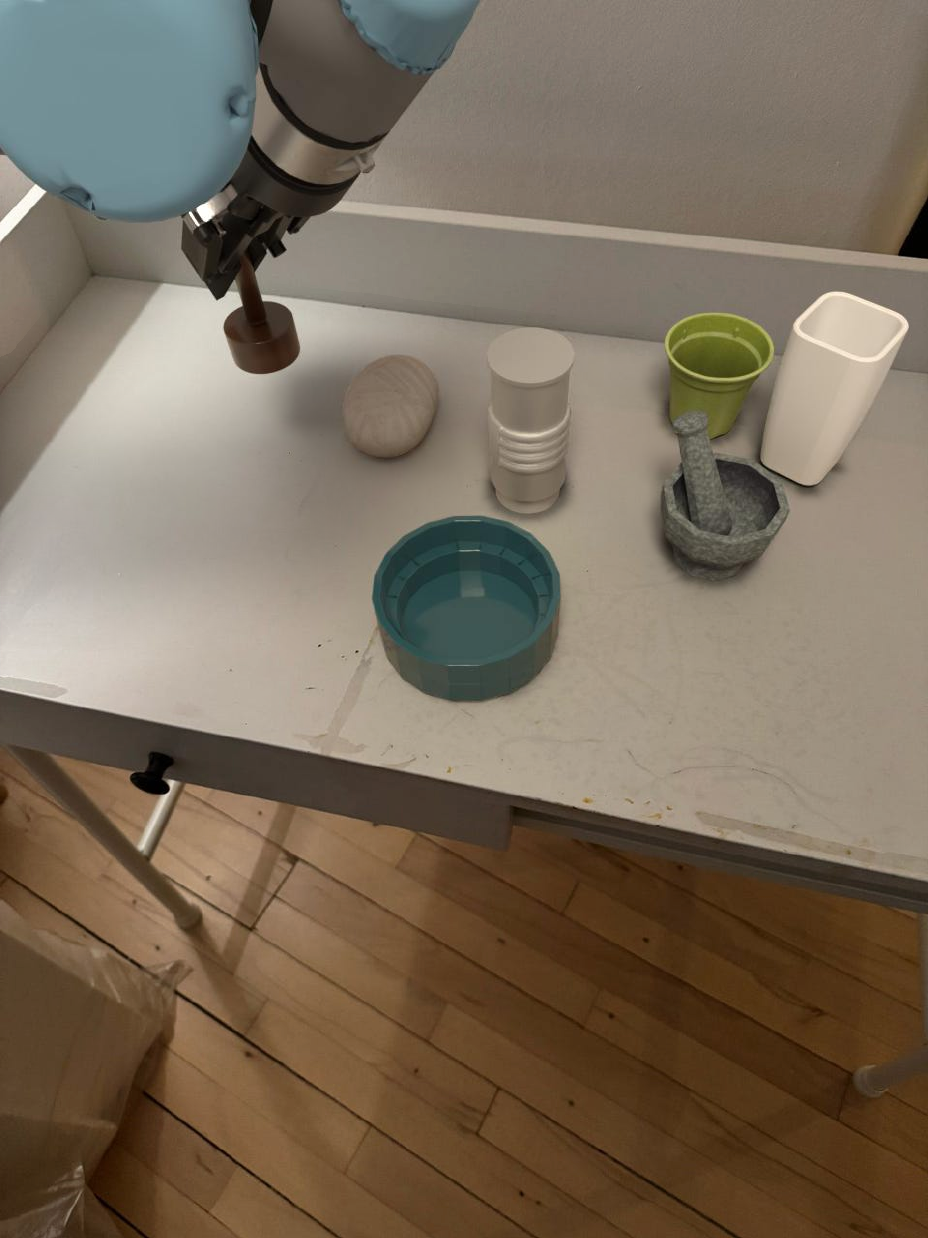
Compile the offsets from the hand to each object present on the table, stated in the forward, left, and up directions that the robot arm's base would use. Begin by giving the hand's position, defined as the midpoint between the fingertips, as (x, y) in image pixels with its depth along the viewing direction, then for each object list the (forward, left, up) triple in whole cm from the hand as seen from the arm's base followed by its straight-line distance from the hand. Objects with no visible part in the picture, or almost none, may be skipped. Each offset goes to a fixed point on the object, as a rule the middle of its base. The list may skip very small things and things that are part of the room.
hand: (222, 276), depth 66 cm
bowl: (+20, -22, -18) cm, 35 cm away
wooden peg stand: (+3, -3, -5) cm, 7 cm away
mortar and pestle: (+40, -14, -18) cm, 46 cm away
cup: (+50, -4, -18) cm, 53 cm away
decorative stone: (+12, +2, -18) cm, 22 cm away
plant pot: (+42, +2, -18) cm, 45 cm away
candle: (+25, -7, -18) cm, 31 cm away
